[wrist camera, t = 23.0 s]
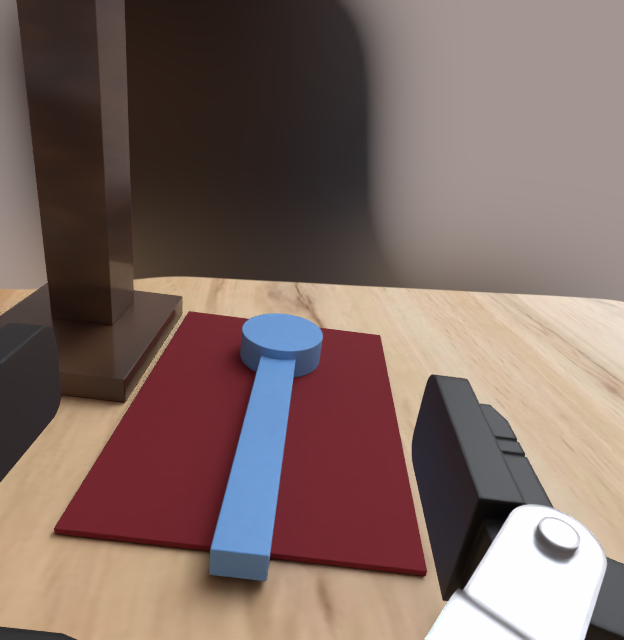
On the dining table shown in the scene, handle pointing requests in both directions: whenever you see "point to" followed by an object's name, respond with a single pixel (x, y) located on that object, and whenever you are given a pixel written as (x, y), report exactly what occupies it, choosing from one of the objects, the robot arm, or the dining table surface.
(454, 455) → the robot arm
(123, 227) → the stand
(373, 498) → the cloth
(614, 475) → the dining table surface
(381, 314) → the dining table surface
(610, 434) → the dining table surface
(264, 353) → the blue disc paddle
